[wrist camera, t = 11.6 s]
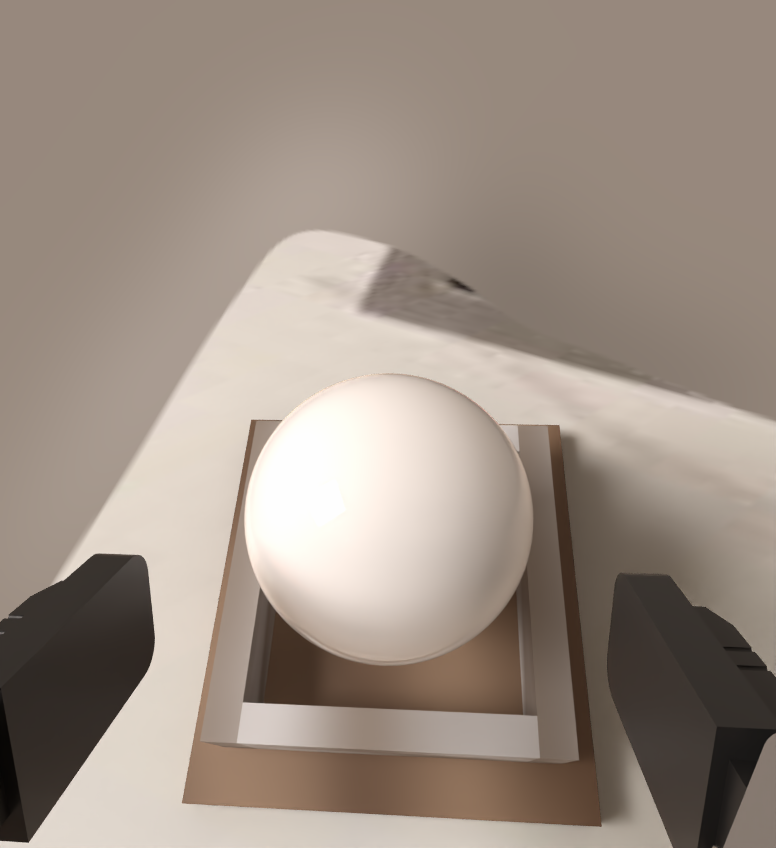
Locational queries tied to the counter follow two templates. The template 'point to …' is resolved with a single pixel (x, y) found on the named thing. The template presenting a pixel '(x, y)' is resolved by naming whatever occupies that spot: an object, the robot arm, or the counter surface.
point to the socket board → (406, 695)
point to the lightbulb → (389, 519)
